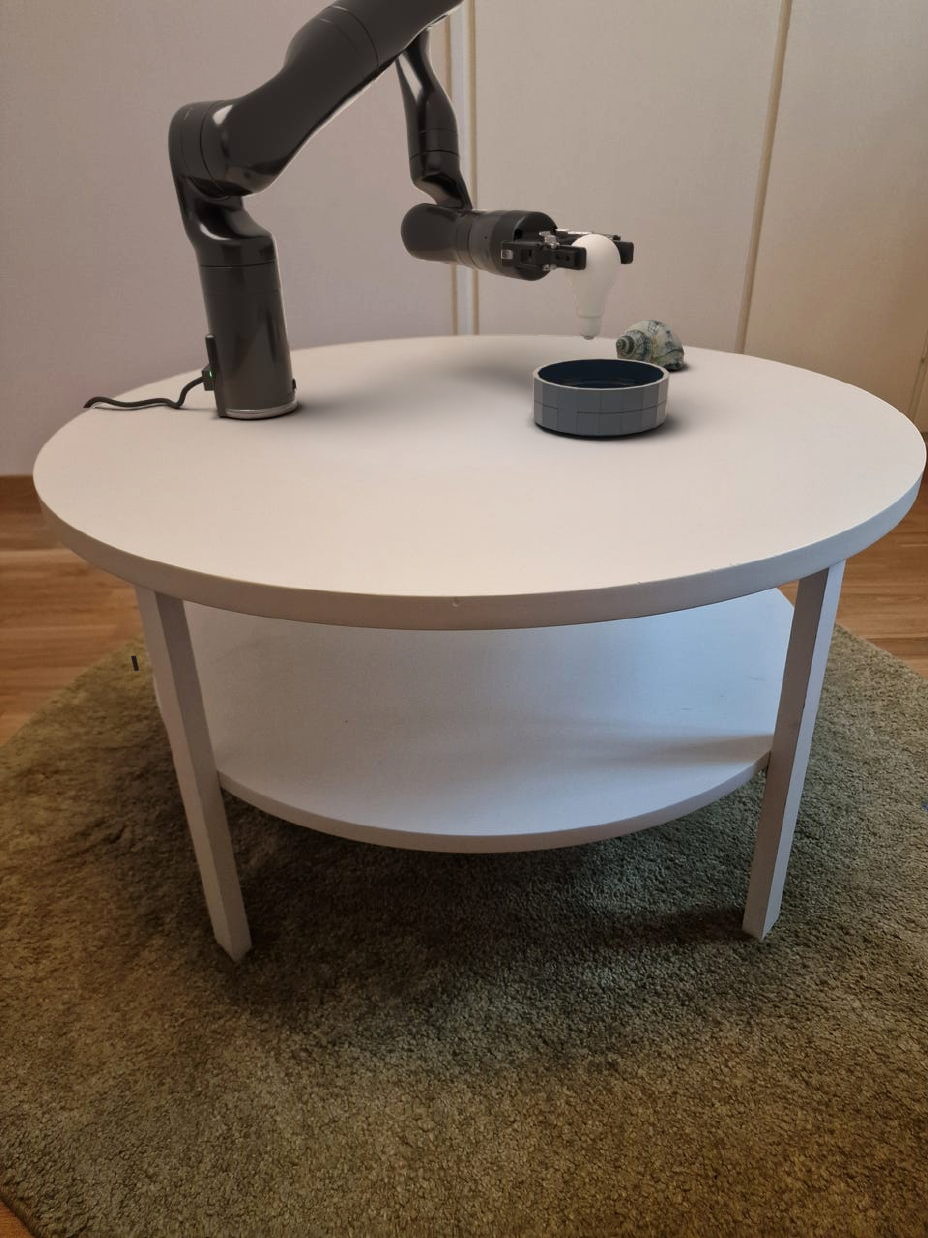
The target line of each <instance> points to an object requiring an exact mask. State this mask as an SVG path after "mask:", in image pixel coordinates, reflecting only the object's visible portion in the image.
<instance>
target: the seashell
mask: <svg viewBox="0 0 928 1238" xmlns="http://www.w3.org/2000/svg"><path fill="white" fill-rule="evenodd" d="M615 349H616V355H617V356H616V358H617V359H627V360H636V361H642V362H647V363H651V364H655V365H657V366H660V367H662V368H665V369H670V370H671V369H672V370H675V371H678V370H681V369H682V368H683V366H684V359H685V357H684V356H685V354H686V353H685V351H684V347H683V344H682V340H681V339H680V337H679V336H678V334H677V332H676V331H675V330H674V329H673V328H671V327H670V326H669V325H668V324H666V323H663V322H661V321H658V320H652V319H651V320H649V319H648V320H642V321H638V322H636V323H634V324H632V325H631V326H629V327H628V328H627V329H625V331H624V332H623V333H622V334H621V335H620V336H619V338H618V339H617V340H616V342H615Z"/></svg>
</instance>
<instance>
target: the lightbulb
mask: <svg viewBox="0 0 928 1238" xmlns="http://www.w3.org/2000/svg"><path fill="white" fill-rule="evenodd" d="M571 246H578V247H585V248H586V250H587V258H586V268H585V269H584V270H572V269H566V268H563V269H564V275H565V278H566V280H567V282H568V285H569V287H570V289H571V291H572V294H573V297H574V304H575V314H576V316H577V333H578V335H580V336H581V337H583V339H584V340H586V341H592V340H594V338H595V337H597V336H599V335H601V331H602V324H603V323H602V322H603V320H602V319H603V316H604V315H605V310H606V304H607V299H608V297H609V294H610V291H611V289H612V288H613V287H614V285H615V283H616V280H617V279H618V276H619V275H620V272H621V271H620V270H621V268H622V267H621V265H622V264H621V260H620V254H619V251H618V249H617V247H616V245H615V244H614V243H613V242H612V241H611V240H610V239H609V238H607V237H605V236H603V235H599V234H589V235H586V236H583V237H581V238H578V240H576V241H575V242H574V243H573V244H572V245H571Z"/></svg>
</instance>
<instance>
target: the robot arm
mask: <svg viewBox="0 0 928 1238" xmlns="http://www.w3.org/2000/svg"><path fill="white" fill-rule="evenodd" d="M465 1H466V0H335V1H334V2H332V3H331V4H329V5H328V6H326V7H324V8H323V9H322V10H321V11H319V12H318V13H317V14H315V15H314V16H313V17H312V18H310V19H309V20H308V21H307V22H306V23H305V24H303V25H302V26H301V27H300V28H299V29H298V30H297V31H296V32H295V33H294V35H293V37H292V38H291V40H290V41H289V43H288V46H287V49H286V52H285V55H284V59H283V64H282V67H281V68H280V70H279V71H278V72H277V73H276V74H275V75H274V76H272V78H270V79H268V80H267V81H266V82H264V83H263V84H261V85H260V86H259V87H257V88H255V89H254V90H252V91H250V92H248V93H246V94H244V95H241V96H238V97H234V98H227V99H218V100H217V99H216V100H215V99H214V100H203V101H194V102H190V103H186V104H184V105H182V106H181V107H179V108H178V109H177V110H176V111H175V112H174V114H173V115H172V118H171V120H170V123H169V127H168V133H167V149H168V151H167V152H168V159H169V166H170V171H171V176H172V180H173V185H174V189H175V194H176V195H175V196H176V199H177V203H178V208H179V213H180V217H181V222H182V225H183V230H184V233H185V235H186V237H187V239H188V241H189V243H190V244H191V246H192V249H193V251H194V253H195V258H196V263H197V269H198V270H197V271H198V276H199V281H200V287H201V292H202V299H203V305H204V311H205V312H204V313H205V317H206V323H207V329H208V333H207V334H206V335H205V336H204V342H205V348H206V354H207V359H208V360H207V361H208V364H207V365H205V366H204V367H203V368H202V369H201V370H200V372H201V376H199V377H197V378H195V379H193V380H191V381H189V382H188V383H187V384H185V385H184V386H183V388H182V389H181V391H180V394H179V396H178V400H177V401H174V400H172V399H170V398H166V397H155V398H148V399H143V400H138V401H120V400H115V399H112V398H110V397H105V396H93V397H91V398H89V399H88V400H87V401H86V402H85V403H84V405H83V407H82V408H83V409H89V408H91V407H92V406H93V405H95V404H96V403H104V404H108V405H111V406H113V407H119V408H125V409H126V408H127V409H133V408H139V407H147V406H150V405H151V406H152V405H158V404H166V405H167V406H169V407H171V408H173V409H179V408H181V407H182V406H183V405H184V403H185V400H186V397H187V395H188V393H189V392H190V391H191V390H192V389H193V388H194V387H196V386H199V385H201V384H203V390H204V392H213V395H214V400H215V407H216V413H217V417H229V418H233V419H246V420H247V419H264V418H271V417H276V416H281V415H284V414H287V413H290V412H292V411H295V409H297V408H298V400H297V399H298V398H297V395H296V391H297V381H296V379H295V378H294V373H293V363H292V357H291V356H292V355H291V348H290V341H289V333H288V325H287V317H286V316H287V315H286V309H285V301H284V293H283V284H282V277H281V276H282V275H281V269H280V260H279V253H278V252H279V251H278V244H277V240H276V238H275V236H274V234H273V233H272V232H270V231H269V230H268V229H266V228H265V227H263V226H262V225H260V224H259V223H258V222H257V221H256V220H255V219H253V217H252V215H250V213H249V210H248V209H247V205H246V201H245V197H253V196H256V195H258V194H261V193H263V192H265V191H266V190H267V189H269V188H270V187H272V186H273V184H274V183H275V182H276V181H278V179H279V178H280V177H281V176H282V174H283V173H284V172H285V171H286V170H287V168H288V167H289V166H290V164H292V162H293V161H294V160H295V158H296V157H297V156H298V155H299V154H300V152H301V151H302V150H303V149H304V148H305V146H307V144H308V143H309V142H310V141H311V140H312V139H313V138H314V137H315V136H316V135H317V134H318V133H319V132H320V131H322V130H323V128H325V127H326V126H327V125H328V124H330V123H331V122H332V121H333V120H334V119H335V118H336V117H337V116H339V114H340V113H342V112H343V111H344V110H345V109H346V108H348V107H349V106H350V105H352V104H353V103H354V102H355V101H356V100H357V99H359V98H360V97H361V96H362V95H363V94H364V93H365V92H366V91H368V89H370V88H371V87H372V86H373V85H374V84H375V83H376V82H377V81H378V80H379V79H380V77H381V76H383V74H384V73H385V72H386V71H387V70H388V69H389V68H390V67H391V66H392V65H393V63H394V65H395V68H396V70H395V71H396V74H397V78H398V83H399V88H400V92H401V97H402V103H403V111H404V117H405V118H404V119H405V129H406V145H407V160H408V171H409V172H408V173H409V179H410V182H411V184H412V186H413V187H414V188H415V189H416V190H418V191H420V192H421V193H423V194H424V195H426V196H428V197H430V199H431V200H432V201H433V202H434V203H430V202H419V203H416V204H414V205H413V206H411V207H410V208H409V209H408V210H407V211H406V212H405V213H404V215H403V217H402V219H401V222H400V226H399V237H400V242H401V244H402V246H403V248H404V250H405V251H406V252H407V254H408V255H409V256H410V257H412V258H413V259H415V260H418V261H423V262H430V263H438V264H444V265H451V266H462V267H465V268H467V269H468V268H469V269H472V270H476V271H482V272H483V271H484V272H487V273H490V274H492V275H494V276H498V277H499V276H500V277H504V278H509V279H516V280H522V281H527V282H536V281H540V280H541V279H543V278H545V277H546V276H548V275H549V274H550V273H551V271H555V270H557V269H564V268H566V269H572V270H584V269H585V268H586V258H587V250H586V248H585V247H578V246H571V245H572V244H573V243H574V242H575V241H576V240H578V239H579V238H581V237H583V236H586V235H589V234H599V235H603V236H605V237H607V238H609V239H610V240H611V241H612V242H613V243H614V244H615V245H616V247H617V249H618V251H619V254H620V260H621V265H631V264H633V262H634V254H635V244H634V242H633V241H627V240H621V239H622V238H621V237H622V236H621V235H618V234H607V233H600V232H594V231H572V230H571V229H570V228H559V227H558V225H557V224H556V222H555V221H554V219H553V218H552V217H551V216H550V215H549V214H547V213H545V212H542V211H539V210H538V211H537V210H525V209H513V208H511V209H510V208H498V209H484V208H483V209H482V208H474V204H473V201H472V198H471V196H470V193H469V189H468V185H467V182H466V179H465V177H464V173H463V171H462V155H461V140H460V139H461V138H460V128H459V121H458V117H457V113H456V109H455V107H454V105H453V103H452V100H451V98H450V97H449V95H448V93H447V92H446V89H445V88H444V87H443V85H442V83H441V82H440V80H439V77H438V76H437V74H436V72H435V69H434V66H433V61H432V55H431V52H432V51H431V39H432V29H433V28H435V27H436V26H438V24H440V23H441V22H442V21H444V20H445V19H446V18H448V17H449V16H451V15H452V14H454V12H456V11H457V10H458V9H460V7H461V6H462V5H463V4H464V3H465ZM130 658H131V662H132V667H133V671H134V672H138V671H140V668H139V663H138V659H137V655H131V656H130Z"/></svg>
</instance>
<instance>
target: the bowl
mask: <svg viewBox="0 0 928 1238" xmlns="http://www.w3.org/2000/svg"><path fill="white" fill-rule="evenodd" d="M670 376H671V373H670V372H669V371H668V370H667V368H662V367H660V366H657V365H655V364H651V363H647V362H642V361H636V360H627V359H618V358H612V357H610V358H609V357H589V358H574V359H565V360H564V359H563V360H559V361H554V362H549V363H545V364H543V365H541V366H537V367H536V368H535V369H534V370H533V371H532V373H531V417H532V420H533V422H535V423H536V424H538V425H540V426H541V427H543V428H546V429H550V430H553V431H556V432H559V433H563V434H568V435H572V436H581V437H591V438H595V437H596V438H607V437H608V438H609V437H621V436H628V435H632V434H633V435H634V434H637V433H641V432H645V431H649V430H652V429H655V428H657V427H658V426H660V425H662V424H664V423H665V421H666V417H667V410H668V409H667V408H668V398H669V389H670Z"/></svg>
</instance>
